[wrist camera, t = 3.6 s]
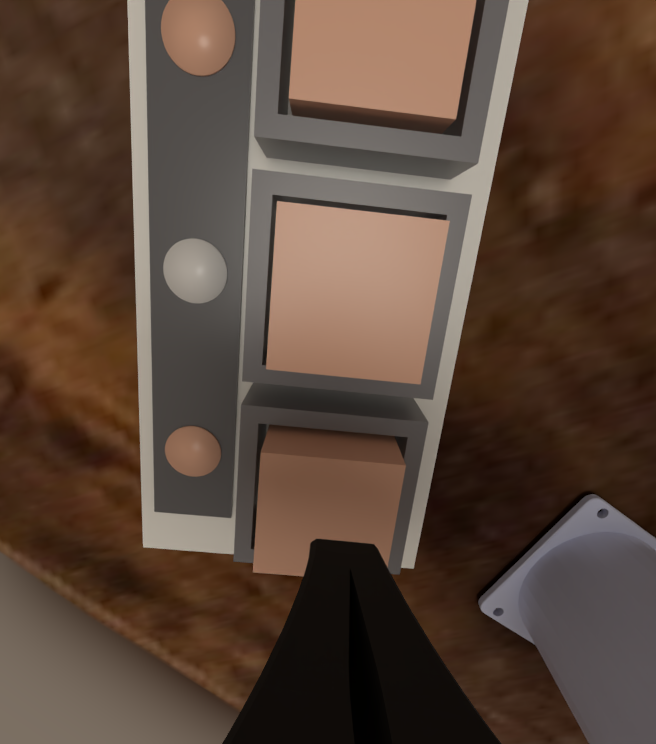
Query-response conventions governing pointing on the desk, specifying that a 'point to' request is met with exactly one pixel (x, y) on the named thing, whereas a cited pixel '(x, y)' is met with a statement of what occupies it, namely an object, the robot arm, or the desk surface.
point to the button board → (256, 248)
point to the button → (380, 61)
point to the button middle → (353, 292)
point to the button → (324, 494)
